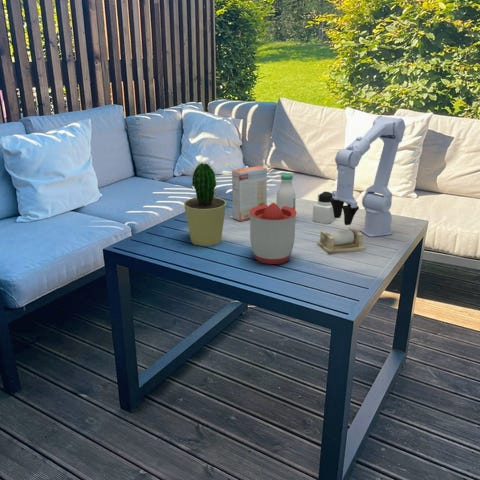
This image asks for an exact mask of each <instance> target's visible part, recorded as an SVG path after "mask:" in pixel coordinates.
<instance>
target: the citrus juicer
mask: <svg viewBox="0 0 480 480" xmlns="http://www.w3.org/2000/svg"><path fill="white" fill-rule="evenodd" d="M297 212H298V211H296V209H295V210H294V209H293V208H291V207H288V206H283V207H282V208H281V209H280V208H279V207H278V206H277V205H276V202H272V203H270V204H269V205H268V204H267V205H261V206H257V207H254V208H252V209H251V210H250V219H249V221H250V222H249V224H250V227H249V228H250V229H249V236H250V237H249V239H250V246H251V249H252V254H253V256H254V257H255V259H256V261H258V262H259V263H263V264H266V265H267V264H269V265H277V264H280V265H281V264H283V263H285V262H287V261H288V260H289V258H290V256H291V255H292V251H293V248H294V244H295V239H296V238H295V237H296V215H297V214H298V213H297Z"/></svg>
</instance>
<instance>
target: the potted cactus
mask: <svg viewBox="0 0 480 480" xmlns="http://www.w3.org/2000/svg"><path fill="white" fill-rule="evenodd" d="M216 175H217V173H216V172H215V171H214V167H213V165H210V164H209V163H207V162H205V163H204V162H203V163H202V162H201V163H198V164H197V165H196V166H195V168H193V171H192V175H191V187H192V188H193V189H194V192H195V194H193V195H194V197H193V198H189V199H187V200H185V201H184V202H183V205H184V211H185V216H186V222H187V226H188V232H189V237H190V241H191V243H192V244H193V245H196V246H200V247H210V246H215V245H218V244H220V243H221V241H222V236H223V229H224V222H225V221H224V220H225V215H226V208H227V207H226V206H227V201H226V200H225V199H223V198H221V197H216V196H214V195H216V191H217V190H216V188H217V182H218V181H219V180H216V178H217V176H216Z"/></svg>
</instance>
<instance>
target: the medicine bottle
mask: <svg viewBox="0 0 480 480" xmlns="http://www.w3.org/2000/svg"><path fill="white" fill-rule="evenodd" d="M330 198H333V196H332V192H330V191H319V192H318V193H317V201H316V203H314V204H313V206H312V222H316V223H318V224H319V223H320V224H325V225H329V224H331V223H332V222H333V221H334V220H336V218H335V217H334V212H333V207H332V204H331V202H330Z"/></svg>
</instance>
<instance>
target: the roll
mask: <svg viewBox="0 0 480 480" xmlns="http://www.w3.org/2000/svg"><path fill="white" fill-rule="evenodd" d="M328 234H329V235H331V236H332V237H333V238H334V246H338V245H346V244H352V243H353V242H354V234H353V232H352V231H351V230H349V229H347V230H340V231H338V230H337V231H331V232H328Z"/></svg>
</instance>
